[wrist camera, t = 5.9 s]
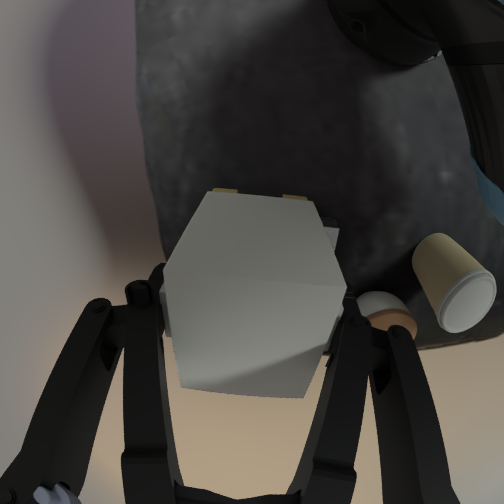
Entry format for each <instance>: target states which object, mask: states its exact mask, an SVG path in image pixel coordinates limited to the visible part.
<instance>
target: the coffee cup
mask: <svg viewBox="0 0 504 504" xmlns="http://www.w3.org/2000/svg"><path fill="white" fill-rule="evenodd" d="M412 266H413V269H414V272H415V274H416V276H417V278H418V280H419V282H420V284H421V286H422V288H423V290H424V292H425V294H426V296H427V298H428V300H429V302H430V304H431V306H432V308H433V310H434V312H435V314H436V316H437V320H438V323H439V325H440V326H441V327H442V328H443V329H445V330H446V331H448V332H451V333H457V332H462V331H465V330H467V329H469V328H471V327H472V326H474V325H475V324H476V323H478V322H479V321H480V320H481V319H482V318H483V317H484V316H485V315H486V313H487V312H488V311H489V309H490V307H491V306H492V304H493V302H494V299H495V296H496V284H495V279H494V277H493V275H492V274H491V273H490V272H489V271H487V270H485V269H484V268H483V267H482V266H481V265H480V264H479V263H478V262H477V261H476V260H475V259H474V258H473V257H472V256H471V255H470V254H469V253H468V252H466V251H465V250H464V249H463V248H462V247H461V246H460V245H458V244H457V243H456V242H455V241H454V240H452V239H451V238H450V237H449V236H447V235H445V234H443V233H434V234H431V235H429V236H427V237H426V238H424V239H423V240H422V241H421V242H420V243H419V244H418V246H417V247H416V249H415V251H414V253H413V257H412Z"/></svg>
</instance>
